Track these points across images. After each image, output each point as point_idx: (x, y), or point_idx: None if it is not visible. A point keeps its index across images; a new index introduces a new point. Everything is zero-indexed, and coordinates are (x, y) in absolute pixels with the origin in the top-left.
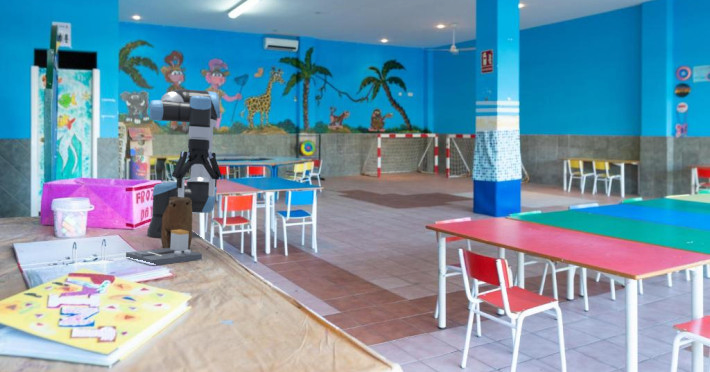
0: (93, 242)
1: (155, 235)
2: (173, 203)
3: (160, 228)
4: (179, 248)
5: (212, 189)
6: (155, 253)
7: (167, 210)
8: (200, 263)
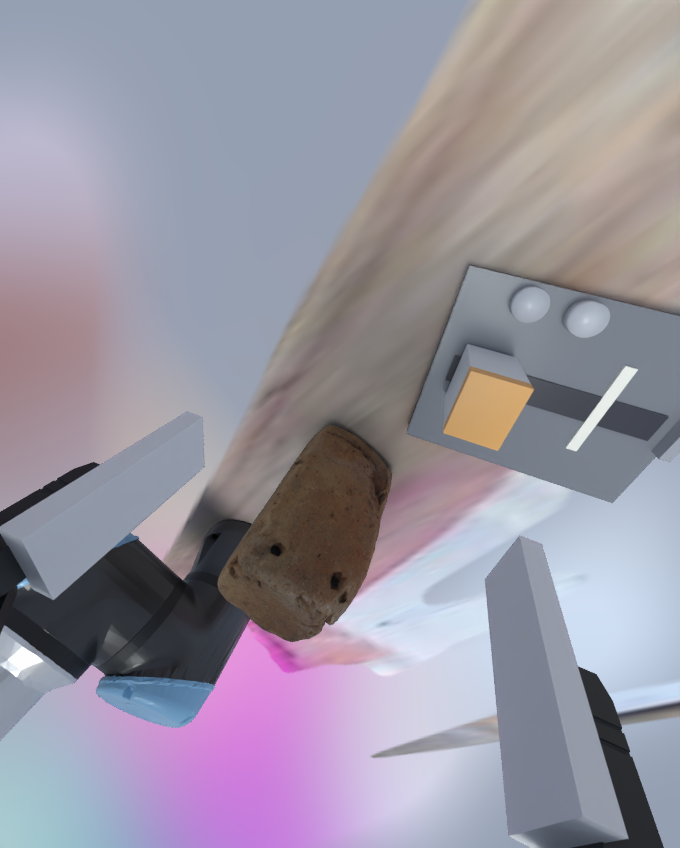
0: (433, 628)
1: None
2: (338, 591)
3: None
4: (513, 359)
5: (153, 461)
6: (593, 410)
7: (364, 577)
8: (560, 197)
